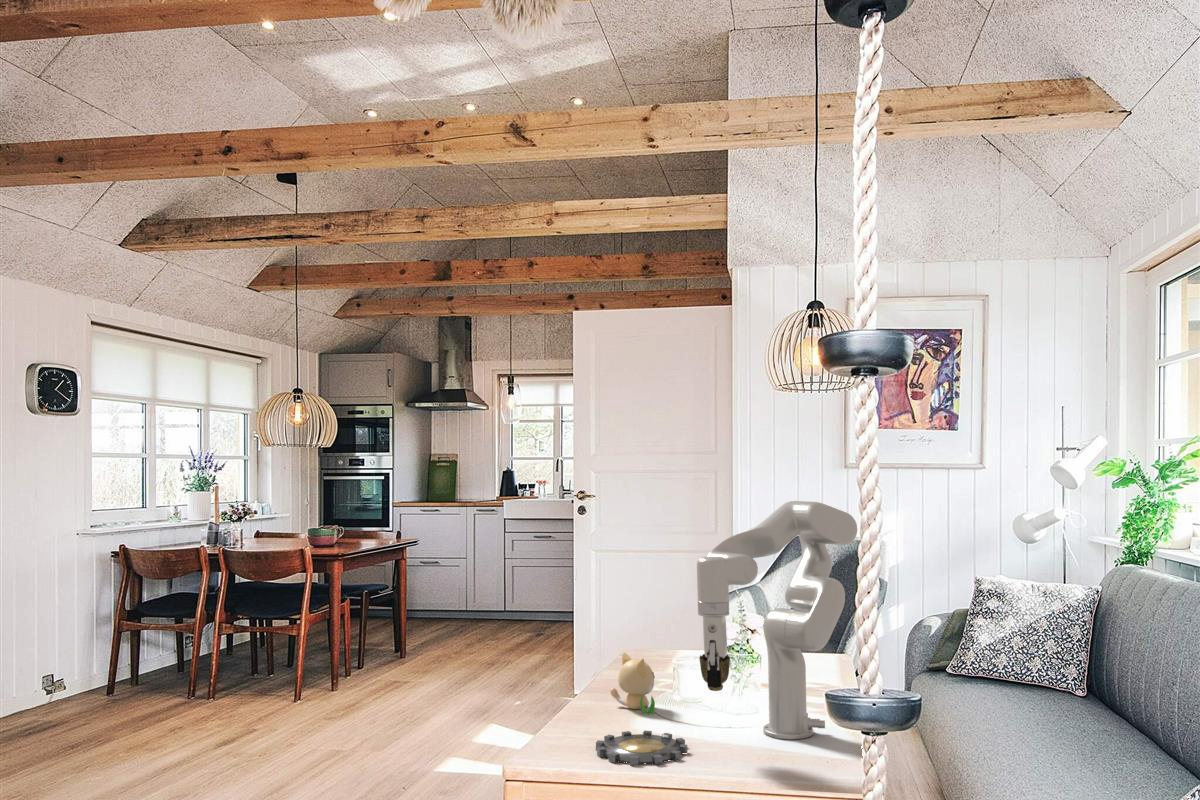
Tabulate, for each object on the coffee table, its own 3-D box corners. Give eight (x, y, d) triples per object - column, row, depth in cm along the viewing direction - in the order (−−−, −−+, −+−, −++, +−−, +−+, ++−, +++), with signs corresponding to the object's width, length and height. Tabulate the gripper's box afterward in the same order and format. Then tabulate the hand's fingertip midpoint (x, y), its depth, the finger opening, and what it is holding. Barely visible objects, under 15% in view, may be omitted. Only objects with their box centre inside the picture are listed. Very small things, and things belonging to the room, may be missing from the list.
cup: (729, 694, 231) (729, 660, 231) (698, 693, 232) (697, 659, 233) (731, 686, 238) (731, 653, 239) (701, 685, 240) (700, 652, 240)
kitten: (667, 711, 274) (666, 657, 274) (638, 717, 268) (637, 661, 269) (637, 700, 286) (636, 648, 287) (608, 705, 281) (608, 652, 282)
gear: (691, 740, 247) (691, 732, 247) (681, 768, 225) (681, 760, 225) (605, 736, 251) (605, 728, 251) (587, 763, 229) (587, 755, 229)
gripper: (726, 614, 227) (728, 692, 226) (731, 602, 244) (733, 674, 243) (694, 614, 228) (696, 691, 228) (701, 602, 245) (703, 674, 245)
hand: (715, 682), depth 235 cm, fingers closed on cup, 6 cm apart
